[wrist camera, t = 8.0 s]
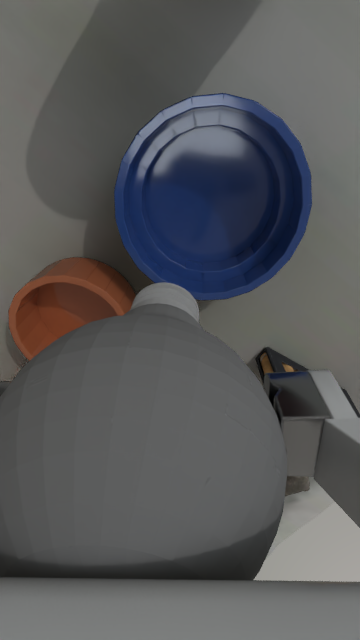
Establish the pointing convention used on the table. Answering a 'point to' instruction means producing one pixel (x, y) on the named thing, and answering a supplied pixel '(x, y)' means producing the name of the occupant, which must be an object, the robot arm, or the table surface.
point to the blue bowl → (213, 196)
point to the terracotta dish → (66, 302)
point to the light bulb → (139, 453)
